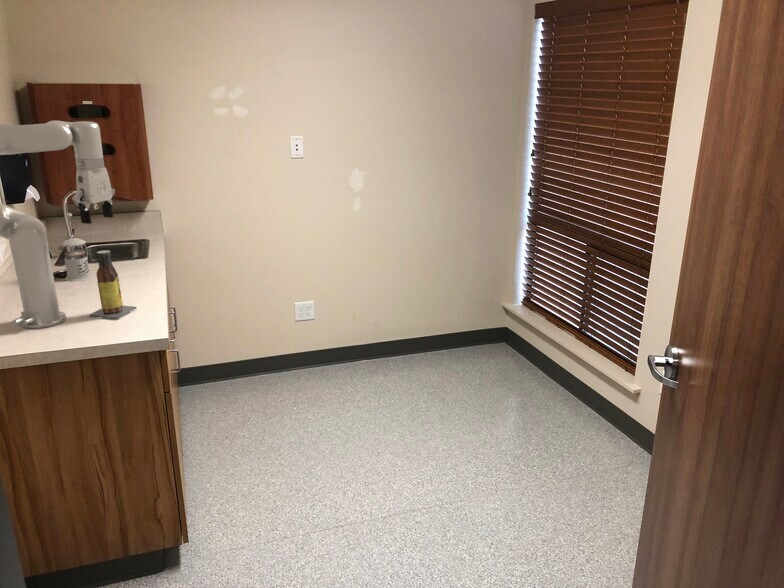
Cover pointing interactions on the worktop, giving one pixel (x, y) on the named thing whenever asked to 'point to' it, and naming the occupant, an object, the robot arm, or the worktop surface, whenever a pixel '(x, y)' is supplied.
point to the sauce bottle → (108, 284)
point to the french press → (76, 260)
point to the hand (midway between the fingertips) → (97, 220)
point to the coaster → (113, 315)
